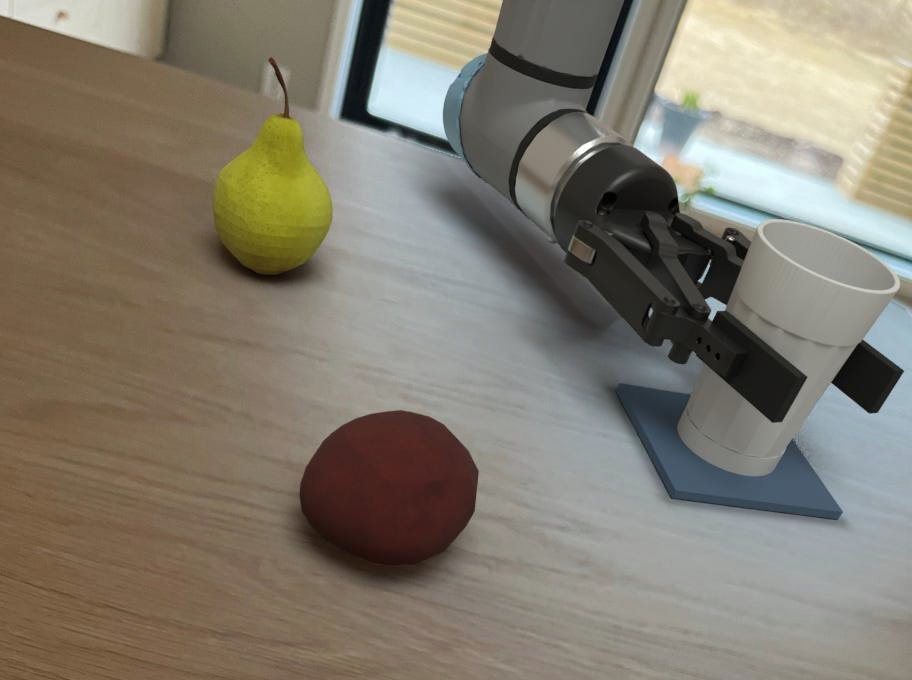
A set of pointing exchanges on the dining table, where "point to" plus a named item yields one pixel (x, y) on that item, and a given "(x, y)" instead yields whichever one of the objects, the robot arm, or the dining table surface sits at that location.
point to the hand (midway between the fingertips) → (839, 395)
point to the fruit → (272, 199)
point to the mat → (704, 482)
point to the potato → (390, 488)
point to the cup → (787, 337)
